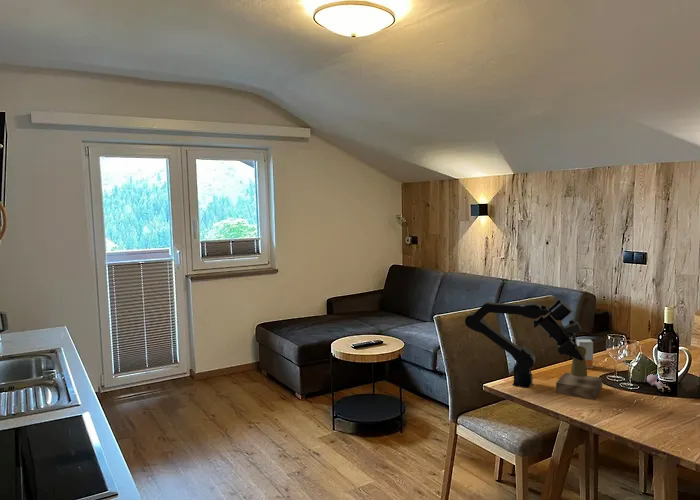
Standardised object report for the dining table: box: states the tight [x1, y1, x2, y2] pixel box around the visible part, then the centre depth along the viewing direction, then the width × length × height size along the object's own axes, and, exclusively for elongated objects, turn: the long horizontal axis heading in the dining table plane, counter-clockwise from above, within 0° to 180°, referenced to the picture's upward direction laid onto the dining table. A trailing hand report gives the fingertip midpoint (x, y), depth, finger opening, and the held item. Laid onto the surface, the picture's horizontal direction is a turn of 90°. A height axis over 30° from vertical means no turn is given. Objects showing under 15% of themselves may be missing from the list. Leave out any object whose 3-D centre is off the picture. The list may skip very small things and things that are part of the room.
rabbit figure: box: [646, 373, 671, 392], centre depth 204 cm, size 6×6×15 cm
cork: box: [570, 346, 588, 377], centre depth 202 cm, size 6×6×11 cm
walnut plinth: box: [555, 372, 603, 400], centre depth 203 cm, size 14×14×4 cm
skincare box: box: [576, 339, 594, 369], centre depth 230 cm, size 6×4×12 cm
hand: (582, 358), depth 201 cm, fingers closed on cork, 5 cm apart
